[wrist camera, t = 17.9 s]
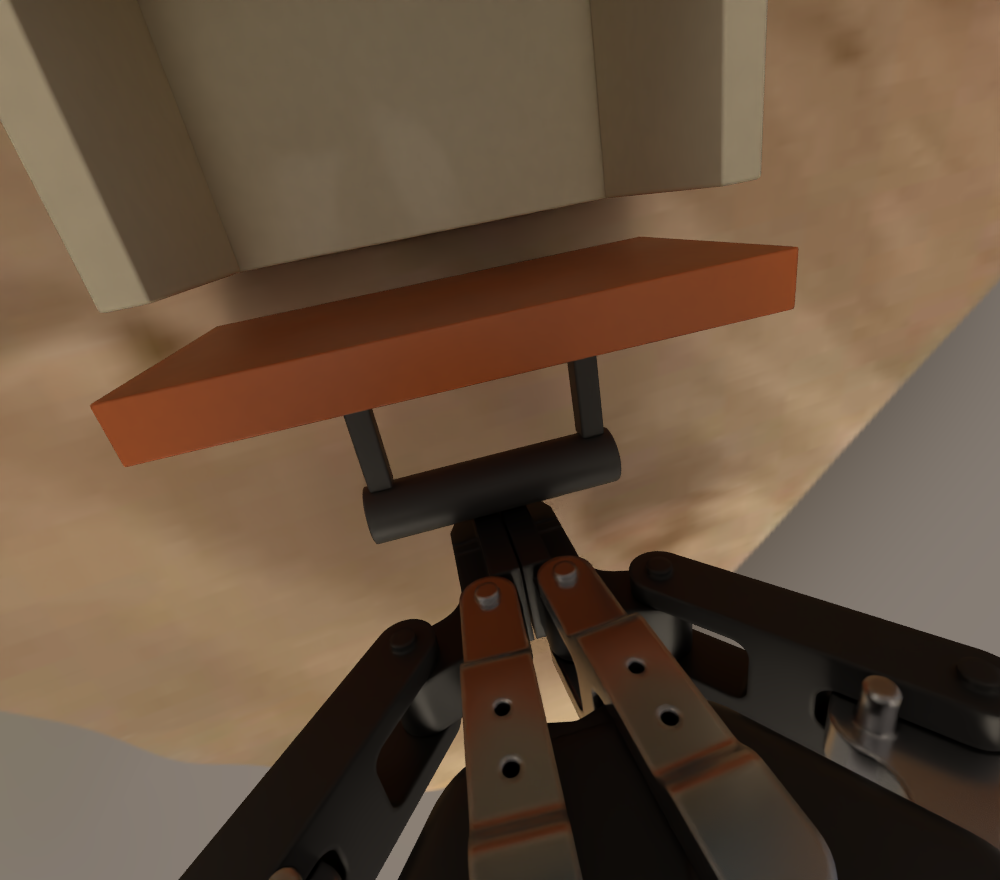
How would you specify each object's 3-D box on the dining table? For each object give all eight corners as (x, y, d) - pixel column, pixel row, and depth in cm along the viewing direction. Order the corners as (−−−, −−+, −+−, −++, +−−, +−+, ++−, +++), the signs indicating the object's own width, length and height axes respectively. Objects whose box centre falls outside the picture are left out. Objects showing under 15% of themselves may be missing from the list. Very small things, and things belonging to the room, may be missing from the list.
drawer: (649, 400, 18) (782, 492, 12) (285, 491, 17) (225, 647, 11) (606, -389, 11) (905, -1230, 4) (-65, -342, 9) (-976, -1469, 3)
